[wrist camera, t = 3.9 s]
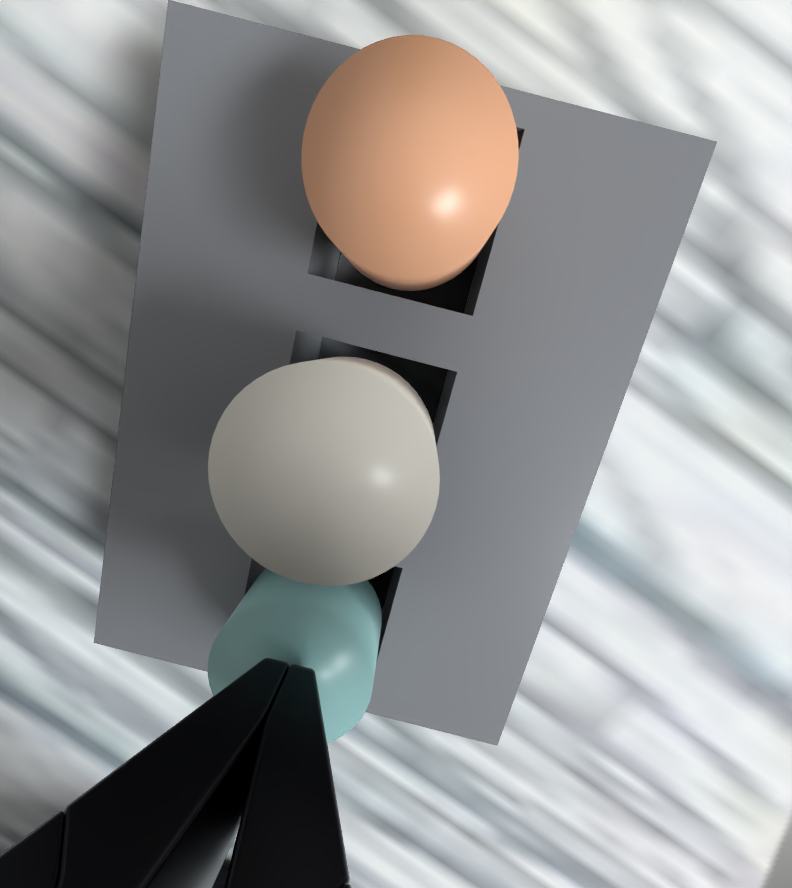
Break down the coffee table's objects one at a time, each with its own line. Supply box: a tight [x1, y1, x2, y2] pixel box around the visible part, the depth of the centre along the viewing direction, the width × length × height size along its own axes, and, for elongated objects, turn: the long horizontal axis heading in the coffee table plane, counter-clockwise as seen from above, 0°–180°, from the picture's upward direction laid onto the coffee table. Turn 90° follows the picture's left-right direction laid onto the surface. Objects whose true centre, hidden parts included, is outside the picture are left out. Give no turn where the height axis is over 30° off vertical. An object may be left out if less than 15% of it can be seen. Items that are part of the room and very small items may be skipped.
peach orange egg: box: [301, 35, 519, 291], centre depth 8 cm, size 3×3×4 cm
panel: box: [94, 0, 717, 745], centre depth 10 cm, size 12×9×2 cm
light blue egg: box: [208, 568, 382, 743], centre depth 10 cm, size 3×3×4 cm
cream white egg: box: [208, 356, 440, 586], centre depth 7 cm, size 3×3×4 cm
